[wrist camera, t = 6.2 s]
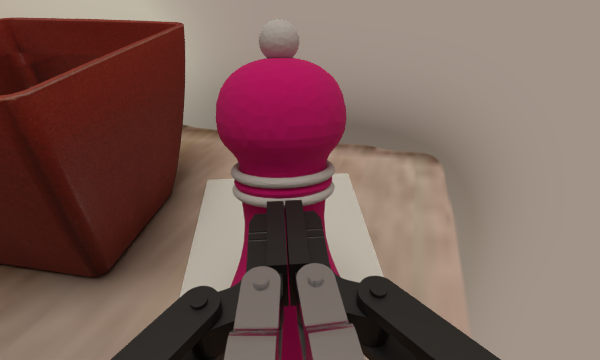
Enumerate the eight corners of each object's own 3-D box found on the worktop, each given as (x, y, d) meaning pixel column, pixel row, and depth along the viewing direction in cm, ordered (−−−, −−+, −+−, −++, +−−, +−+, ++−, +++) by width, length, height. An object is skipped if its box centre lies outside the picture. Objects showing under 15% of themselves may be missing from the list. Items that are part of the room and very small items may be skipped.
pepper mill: (279, 325, 26) (268, 32, 20) (371, 369, 22) (389, 20, 16) (202, 396, 20) (154, 18, 14) (306, 474, 16) (298, -6, 10)
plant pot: (68, 161, 44) (3, 14, 34) (214, 176, 41) (187, 20, 32) (-99, 284, 28) (-303, 78, 19) (117, 320, 26) (7, 101, 16)
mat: (393, 311, 26) (394, 307, 26) (174, 327, 25) (173, 324, 25) (347, 176, 41) (347, 173, 41) (208, 182, 40) (207, 179, 40)
